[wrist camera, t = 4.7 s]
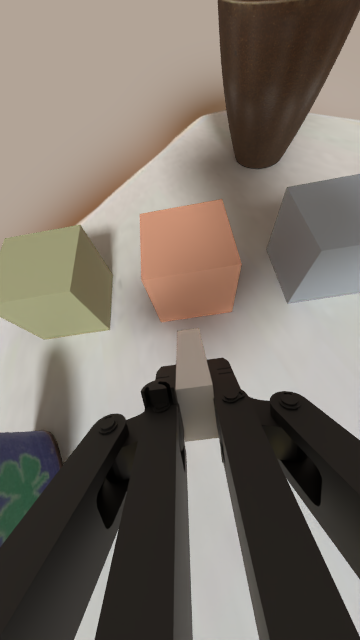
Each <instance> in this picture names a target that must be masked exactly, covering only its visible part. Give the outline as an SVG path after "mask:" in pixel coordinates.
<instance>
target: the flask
mask: <svg viewBox="0 0 360 640" xmlns="http://www.w3.org/2000/svg"><path fill="white" fill-rule="evenodd" d="M57 445H58V444H57V441H56V440H55V438H54V436H53V435H52V434H51V433H50V432H47V431H44V430H41V431H31V432H13V433H9V432H6V433H0V547H1V545H2V544H3V543H4V542H5V540H6V539H7V538H8V536H9V535H10V534H11V532H12V531H13V530H14V528H15V527H16V526H17V525H18V523H19V522H20V521H21V519H22V518H23V517H24V515H25V514H26V513H27V512H28V510H29V509H30V508H31V506H32V505H33V504H34V502H35V501H36V500H37V498H38V497H39V496H40V495H41V493H42V492H43V491H44V489H45V488H46V487H47V485H48V484H49V483H50V482H51V480H52V479H53V478H54V476H55V475H56V474H57V472H58V471H59V470H60V468H61V467H62V466H63V463H62V458H61V456H60V451H59V448H58V446H57Z"/></svg>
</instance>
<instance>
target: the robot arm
mask: <svg viewBox="0 0 360 640" xmlns="http://www.w3.org/2000/svg"><path fill="white" fill-rule="evenodd" d="M141 394H142V398H143V402H144V406H145V411H144V412H143V413H142V414H140V415H138V416H136V417H133V418H131V419H128V420H126V419H125V417H124V416H123V415H121V414H110V415H107V416H105V417H103V418H101V419H100V420H98V421H97V422H96V423H95V424H94V425H93V427H92V428H91V429H90V431H89V432H88V433H87V435H86V436H85V437H84V438H83V440H82V441H81V442H80V444H79V445H78V446H77V448H76V449H75V450H74V452H73V453H72V454H71V455H70V457H69V458H68V459H67V461H66V462H65V463H64V465H63V466H62V467H61V468H60V470H59V471H58V472H57V474H56V475H55V476H54V478H53V479H52V480H51V482H50V483H49V484H48V485H47V487H46V488H45V489H44V491H43V492H42V493H41V495H40V496H39V497H38V498H37V500H36V501H35V502H34V504H33V505H32V506H31V508H30V509H29V510H28V512H27V513H26V514H25V515H24V517H23V518H22V519H21V521H20V522H19V523H18V525H17V526H16V527H15V528H14V530H13V531H12V532H11V534H10V535H9V536H8V538H7V539H6V540H5V542H4V543H3V544H2V545H1V547H0V640H74V638H75V636H76V633H77V631H78V628H79V626H80V623H81V621H82V618H83V616H84V613H85V611H86V608H87V606H88V603H89V601H90V598H91V596H92V593H93V591H94V588H95V586H96V583H97V581H98V578H99V576H100V573H101V571H102V568H103V566H104V564H105V561H106V559H107V556H108V554H109V551H110V549H111V546H112V544H113V541H114V539H115V536H116V534H117V531H118V535H117V540H116V544H115V549H114V553H113V558H112V563H111V567H110V572H109V576H108V581H107V586H106V590H105V595H104V599H103V604H102V609H101V613H100V618H99V622H98V627H97V632H96V636H95V640H193V635H192V606H191V577H190V548H189V519H188V490H187V461H186V449H185V444H184V437H185V442H186V441H195V440H203V439H212V438H219V439H220V447H221V455H222V463H224V468H225V472H226V477H227V482H228V487H229V492H230V497H231V502H232V507H233V512H234V517H235V522H236V527H237V532H238V537H239V541H240V546H241V551H242V556H243V561H244V566H245V571H246V576H247V581H248V586H249V591H250V596H251V601H252V605H253V610H254V615H255V620H256V625H257V630H258V635H259V640H360V636H359V634H358V632H357V630H356V628H355V626H354V624H353V621H352V619H351V617H350V615H349V613H348V611H347V608H346V606H345V604H344V602H343V600H342V598H341V596H340V593H339V591H338V589H337V587H336V585H335V583H334V580H333V578H332V576H331V574H330V572H329V570H328V568H327V565H326V563H325V561H324V559H323V557H322V555H321V552H320V550H319V548H318V546H317V544H316V542H315V540H314V537H313V535H312V533H311V531H310V529H309V527H308V524H307V522H306V520H305V518H304V516H303V514H302V512H301V509H300V507H299V505H298V503H297V501H296V499H295V496H294V494H293V492H292V490H291V488H290V486H289V484H288V481H289V483H290V484H291V485H292V487H293V488H294V489H295V491H296V492H297V494H298V495H299V496H300V498H301V499H302V500H303V502H304V503H305V505H306V506H307V507H308V509H309V510H310V511H311V513H312V514H313V516H314V517H315V518H316V520H317V521H318V522H319V524H320V525H321V527H322V528H323V529H324V531H325V532H326V533H327V535H328V536H329V538H330V539H331V540H332V542H333V543H334V544H335V546H336V547H337V549H338V550H339V551H340V553H341V554H342V555H343V557H344V558H345V560H346V561H347V562H348V564H349V565H350V566H351V568H352V569H353V571H354V572H355V573H356V575H357V576H358V577H359V579H360V440H359V439H357V438H356V437H355V436H353V435H352V434H351V433H350V432H348V431H347V430H346V429H344V428H343V427H342V426H341V425H339V424H338V423H337V422H335V421H334V420H333V419H332V418H330V417H329V416H328V415H326V414H325V413H324V412H323V411H321V410H320V409H319V408H317V407H316V406H315V405H314V404H312V403H311V402H310V401H308V400H307V399H306V398H304V397H303V396H301V395H299V394H297V393H293V392H287V391H282V392H277V393H275V394H273V395H272V396H271V398H270V401H264V400H257V399H253V398H250V397H248V395H247V394H246V393H245V391H243V390H241V389H240V386H239V384H238V382H237V380H236V377H235V375H234V373H233V370H232V368H231V366H230V364H229V362H228V361H227V360H226V359H224V358H217V359H210V360H206V356H205V352H204V348H203V343H202V339H201V335H200V331H199V328H195V329H188V330H181V331H177V357H176V365H171V366H163V367H161V368H160V369H159V370H158V371H157V374H156V379H155V381H152V382H150V383H148V384H147V385H145V386H144V387H143V389H142V390H141ZM286 478H287V479H286ZM287 480H288V481H287ZM118 529H119V530H118Z"/></svg>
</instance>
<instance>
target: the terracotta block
mask: <svg viewBox="0 0 360 640" xmlns="http://www.w3.org/2000/svg"><path fill="white" fill-rule="evenodd" d="M140 242H141V280H142V282H143V284H144V287H145V289H146V291H147V293H148V295H149V297H150V299H151V302H152V304H153V306H154V308H155V310H156V312H157V314H158V316H159V319H160V321H161V322H167V321H173V320H180V319H187V318H194V317H200V316H207V315H214V314H221V313H228V312H232V309H233V304H234V299H235V294H236V289H237V284H238V279H239V275H240V270H241V265H242V263H241V260H240V257H239V253H238V250H237V247H236V244H235V240H234V237H233V234H232V230H231V227H230V224H229V220H228V217H227V214H226V210H225V207H224V204H223V201H222V199H220V200H214V201H209V202H203V203H198V204H192V205H187V206H181V207H176V208H170V209H165V210H159V211H154V212H148V213H143V214H140Z"/></svg>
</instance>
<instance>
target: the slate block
mask: <svg viewBox="0 0 360 640" xmlns="http://www.w3.org/2000/svg"><path fill="white" fill-rule="evenodd" d="M267 252H268V255H269V257H270V260H271V263H272V265H273V268H274V270H275V273H276V275H277V278H278V281H279V283H280V286H281V288H282V291H283V293H284V296H285V299H286V301H287V304H289V303H295V302H302V301H309V300H316V299H322V298H329V297H336V296H342V295H349V294H356V293H360V174H357V175H351V176H346V177H340V178H335V179H329V180H324V181H319V182H313V183H308V184H302V185H297V186H291V187H287V189H286V192H285V195H284V198H283V201H282V204H281V207H280V210H279V213H278V216H277V219H276V222H275V225H274V228H273V231H272V234H271V237H270V241H269V244H268V247H267Z"/></svg>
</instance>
